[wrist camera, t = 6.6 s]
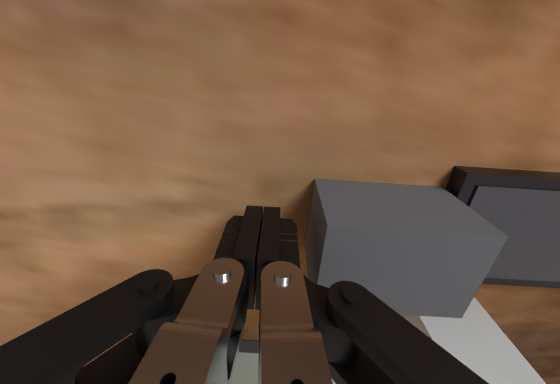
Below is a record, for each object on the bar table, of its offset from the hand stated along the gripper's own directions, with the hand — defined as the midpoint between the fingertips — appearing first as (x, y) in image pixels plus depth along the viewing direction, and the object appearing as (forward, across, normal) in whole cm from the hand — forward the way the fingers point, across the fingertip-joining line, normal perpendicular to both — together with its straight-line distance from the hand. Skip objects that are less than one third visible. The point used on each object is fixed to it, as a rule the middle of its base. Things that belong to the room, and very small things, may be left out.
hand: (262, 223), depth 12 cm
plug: (+1, -5, 0) cm, 5 cm away
